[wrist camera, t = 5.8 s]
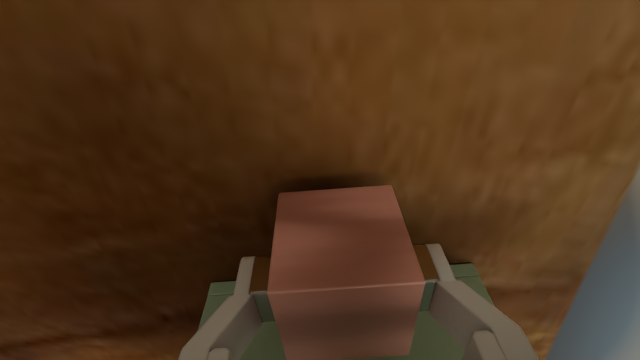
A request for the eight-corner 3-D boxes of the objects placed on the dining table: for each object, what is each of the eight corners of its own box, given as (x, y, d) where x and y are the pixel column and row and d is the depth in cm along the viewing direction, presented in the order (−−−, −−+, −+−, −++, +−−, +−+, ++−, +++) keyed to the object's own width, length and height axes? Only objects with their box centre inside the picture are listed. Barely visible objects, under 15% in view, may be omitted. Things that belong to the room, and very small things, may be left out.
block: (291, 263, 15) (286, 363, 11) (278, 192, 12) (266, 293, 9) (385, 257, 15) (409, 356, 11) (391, 183, 12) (426, 282, 9)
